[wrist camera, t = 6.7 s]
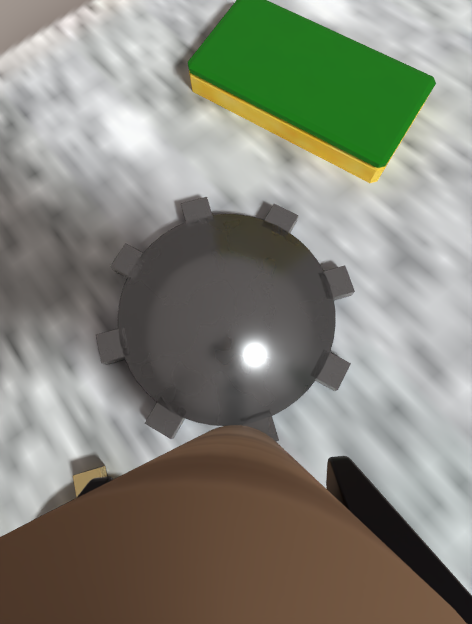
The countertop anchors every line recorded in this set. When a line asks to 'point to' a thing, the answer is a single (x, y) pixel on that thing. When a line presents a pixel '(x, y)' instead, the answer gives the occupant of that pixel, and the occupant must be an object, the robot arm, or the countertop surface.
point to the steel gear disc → (226, 320)
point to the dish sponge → (310, 85)
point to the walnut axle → (210, 549)
